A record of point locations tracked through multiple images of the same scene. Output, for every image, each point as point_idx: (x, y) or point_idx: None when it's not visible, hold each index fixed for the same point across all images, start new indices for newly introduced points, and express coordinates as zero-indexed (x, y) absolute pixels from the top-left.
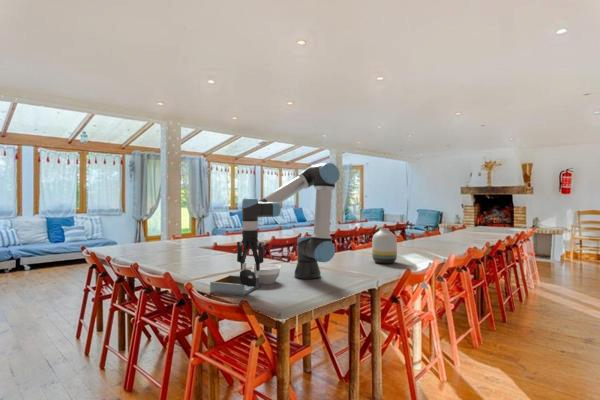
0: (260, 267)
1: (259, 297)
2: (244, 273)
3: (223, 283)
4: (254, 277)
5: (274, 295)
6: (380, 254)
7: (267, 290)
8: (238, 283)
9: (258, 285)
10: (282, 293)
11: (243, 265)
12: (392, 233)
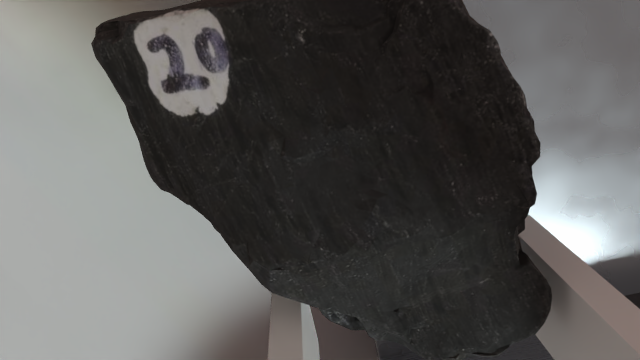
0: None
1: (87, 40)
2: (368, 73)
3: None
4: (132, 125)
5: (10, 199)
6: None
7: (223, 309)
8: (627, 290)
9: (377, 350)
10: (3, 301)
11: (637, 350)
12: None
